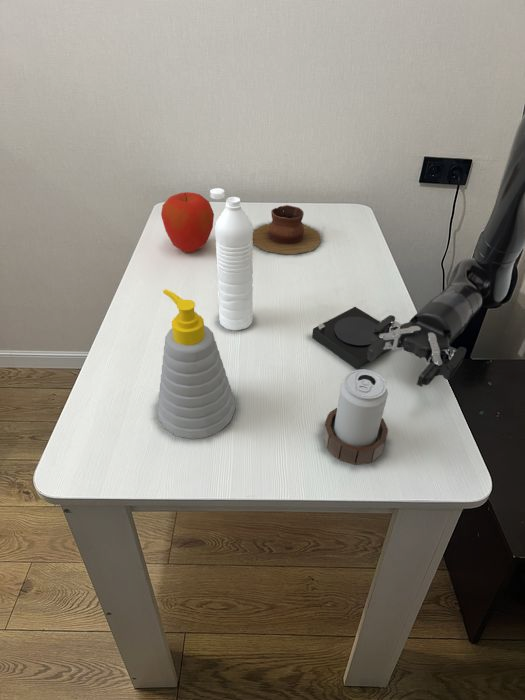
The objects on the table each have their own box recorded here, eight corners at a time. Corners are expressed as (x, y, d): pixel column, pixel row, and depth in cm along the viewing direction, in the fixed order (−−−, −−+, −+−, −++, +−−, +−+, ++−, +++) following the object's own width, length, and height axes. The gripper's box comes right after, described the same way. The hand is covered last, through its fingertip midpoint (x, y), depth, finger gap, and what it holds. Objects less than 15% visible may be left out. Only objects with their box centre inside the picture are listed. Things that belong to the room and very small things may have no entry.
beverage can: (379, 432, 75) (394, 375, 67) (368, 462, 71) (382, 405, 63) (340, 418, 77) (349, 361, 69) (326, 447, 73) (335, 390, 65)
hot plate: (399, 344, 92) (402, 331, 90) (357, 370, 86) (360, 357, 84) (353, 315, 98) (355, 303, 96) (311, 337, 93) (313, 325, 91)
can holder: (396, 443, 73) (400, 430, 72) (355, 474, 69) (358, 461, 67) (351, 409, 79) (354, 395, 77) (311, 436, 74) (313, 423, 72)
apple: (208, 263, 113) (204, 205, 104) (158, 259, 114) (150, 201, 105) (220, 239, 122) (218, 183, 113) (174, 234, 124) (168, 179, 115)
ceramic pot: (261, 218, 132) (262, 193, 127) (326, 227, 128) (329, 201, 124) (241, 249, 118) (241, 222, 114) (313, 260, 115) (316, 232, 110)
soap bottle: (204, 371, 85) (195, 269, 72) (251, 411, 78) (251, 306, 65) (142, 406, 78) (120, 301, 65) (188, 453, 71) (173, 346, 58)
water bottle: (259, 322, 96) (261, 199, 80) (233, 335, 93) (230, 210, 77) (231, 302, 101) (227, 184, 85) (205, 315, 98) (197, 193, 82)
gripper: (408, 287, 85) (357, 329, 75) (489, 320, 78) (444, 371, 68) (399, 321, 90) (351, 365, 80) (475, 355, 83) (431, 408, 73)
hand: (394, 368), depth 74 cm, fingers open, 8 cm apart
